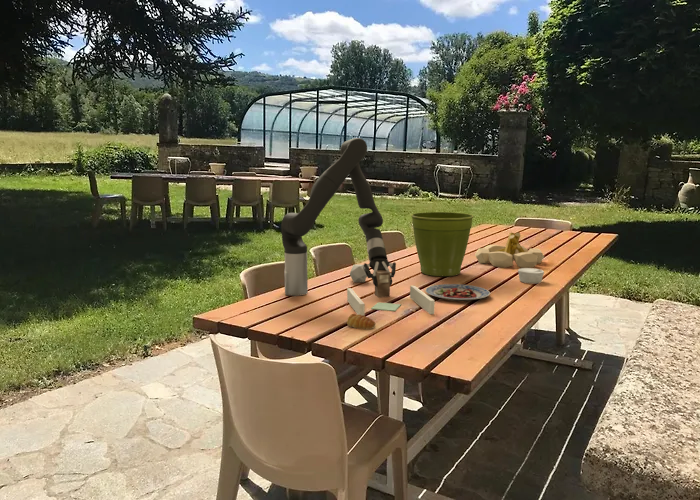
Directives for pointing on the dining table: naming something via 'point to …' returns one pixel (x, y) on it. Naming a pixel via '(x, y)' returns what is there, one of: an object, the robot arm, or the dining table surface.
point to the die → (358, 273)
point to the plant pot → (441, 241)
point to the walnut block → (383, 283)
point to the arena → (415, 295)
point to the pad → (386, 306)
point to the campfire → (510, 254)
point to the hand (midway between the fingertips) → (383, 285)
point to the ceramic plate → (457, 292)
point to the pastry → (360, 322)
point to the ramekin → (530, 275)
